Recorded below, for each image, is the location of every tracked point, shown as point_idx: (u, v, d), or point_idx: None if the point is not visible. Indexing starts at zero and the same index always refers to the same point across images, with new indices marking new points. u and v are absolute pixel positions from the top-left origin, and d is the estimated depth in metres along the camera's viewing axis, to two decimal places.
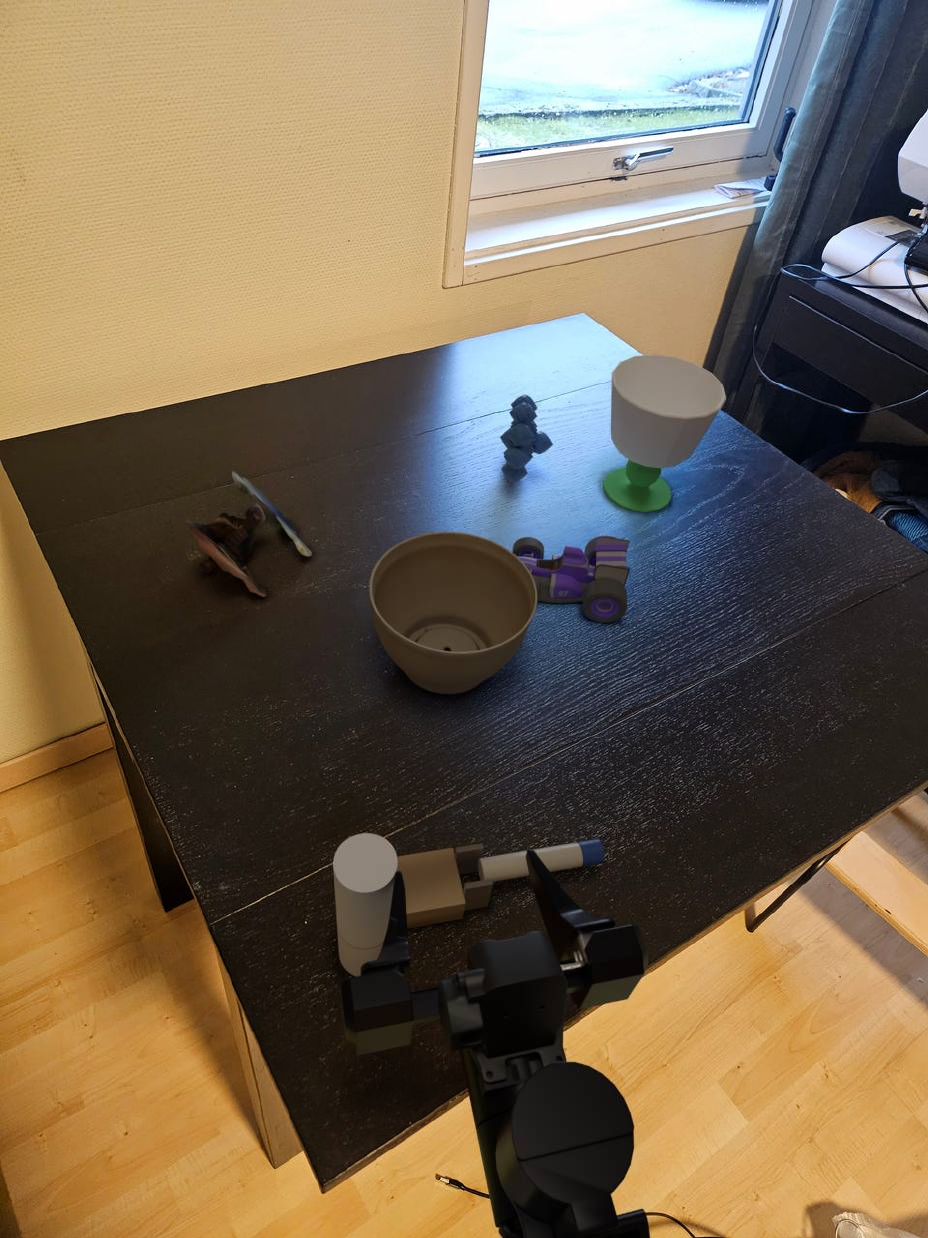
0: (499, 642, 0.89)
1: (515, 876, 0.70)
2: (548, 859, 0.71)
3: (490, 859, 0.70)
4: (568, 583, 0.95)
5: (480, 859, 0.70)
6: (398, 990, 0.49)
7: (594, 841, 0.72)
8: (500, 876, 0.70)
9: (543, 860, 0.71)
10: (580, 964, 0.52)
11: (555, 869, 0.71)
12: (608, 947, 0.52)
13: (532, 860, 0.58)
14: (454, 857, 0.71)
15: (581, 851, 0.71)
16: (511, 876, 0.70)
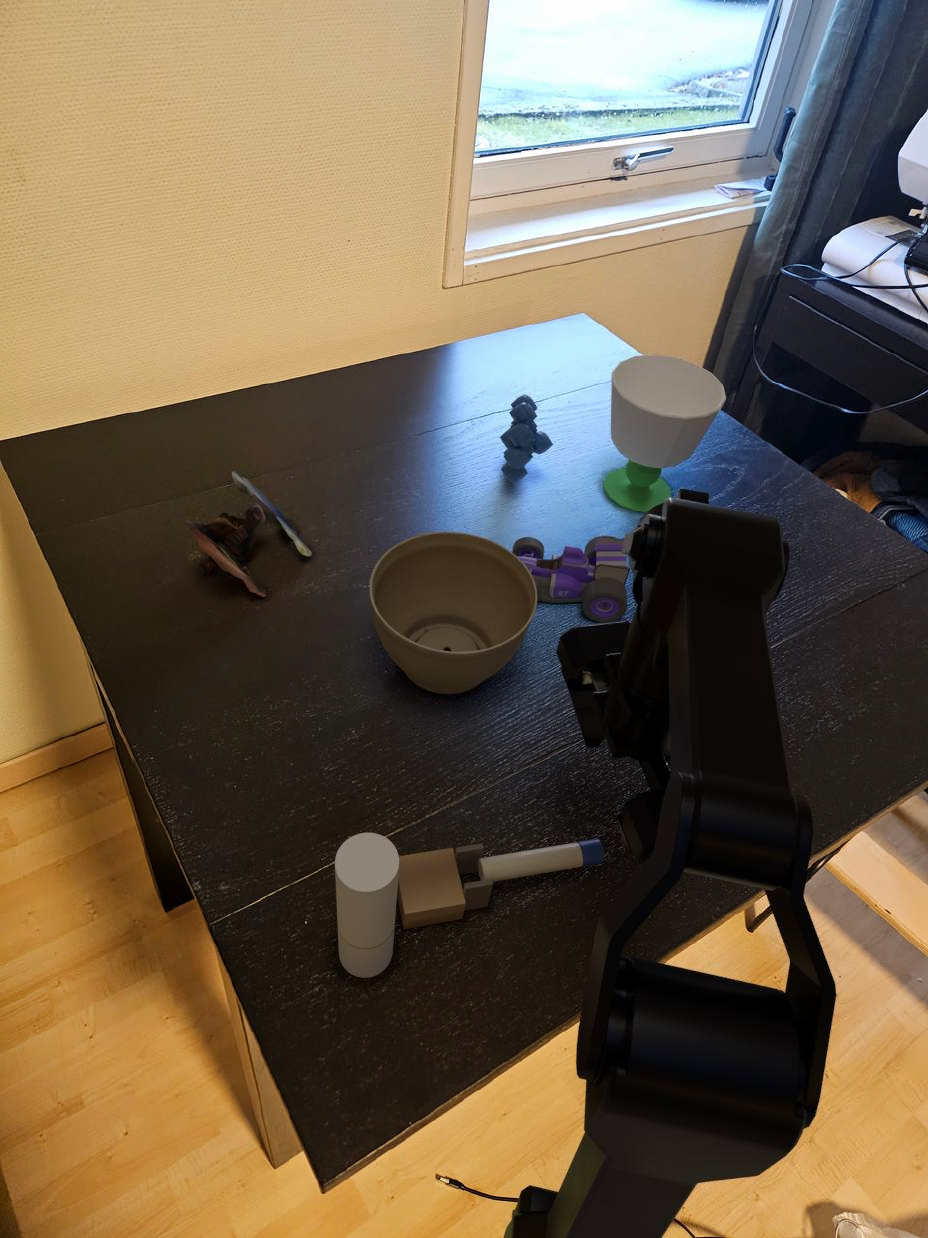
0: (499, 642, 0.89)
1: (515, 876, 0.70)
2: (548, 859, 0.71)
3: (490, 859, 0.70)
4: (568, 583, 0.95)
5: (480, 859, 0.70)
6: None
7: (594, 841, 0.72)
8: (500, 876, 0.70)
9: (543, 860, 0.71)
10: None
11: (555, 869, 0.71)
12: None
13: None
14: (454, 857, 0.71)
15: (581, 851, 0.71)
16: (511, 876, 0.70)
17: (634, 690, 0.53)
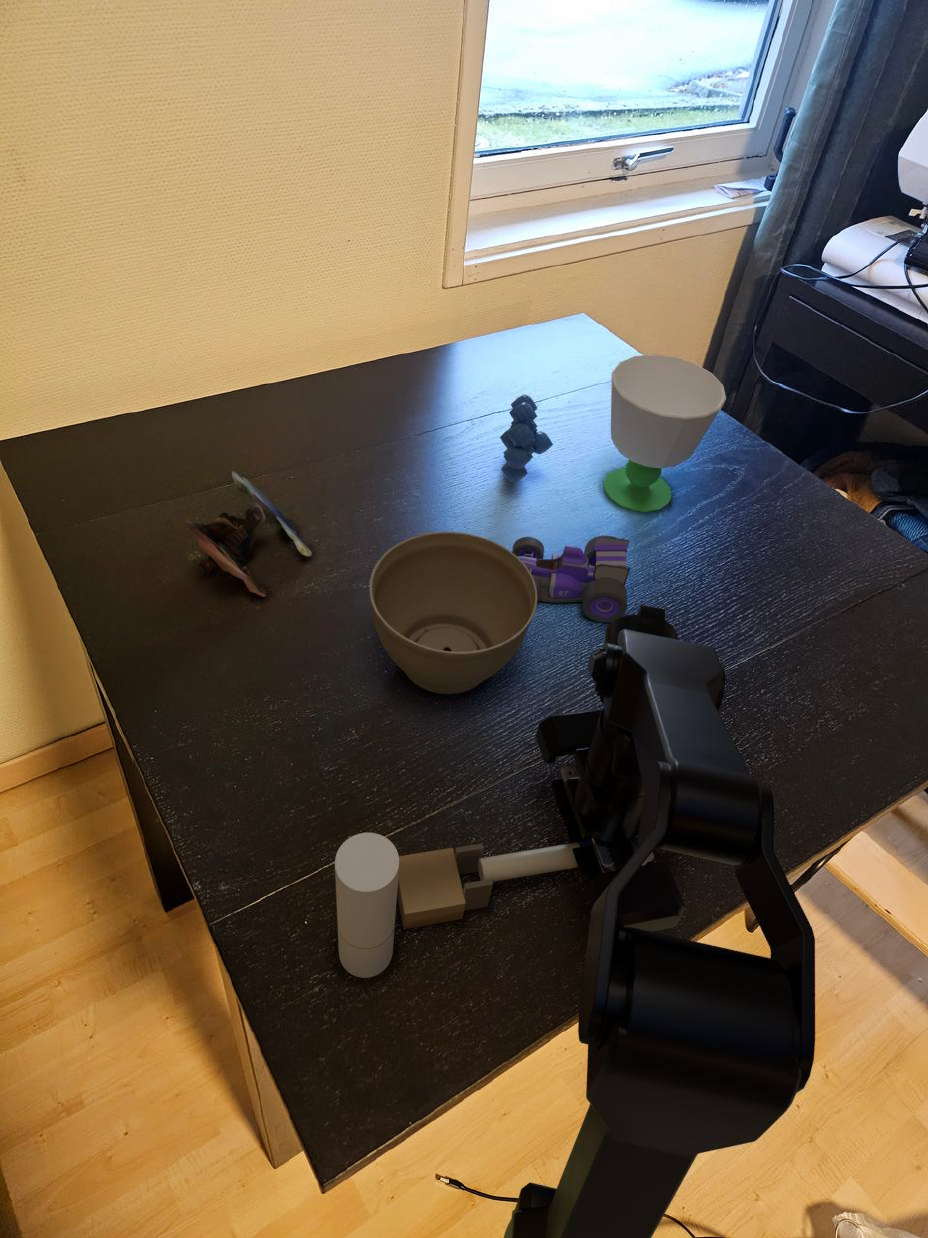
0: (499, 642, 0.89)
1: (515, 876, 0.70)
2: (548, 859, 0.71)
3: (490, 859, 0.70)
4: (568, 583, 0.95)
5: (480, 859, 0.70)
6: None
7: None
8: (500, 876, 0.70)
9: (543, 860, 0.71)
10: None
11: (555, 869, 0.71)
12: None
13: None
14: (454, 857, 0.71)
15: None
16: (511, 876, 0.70)
17: (599, 784, 0.61)
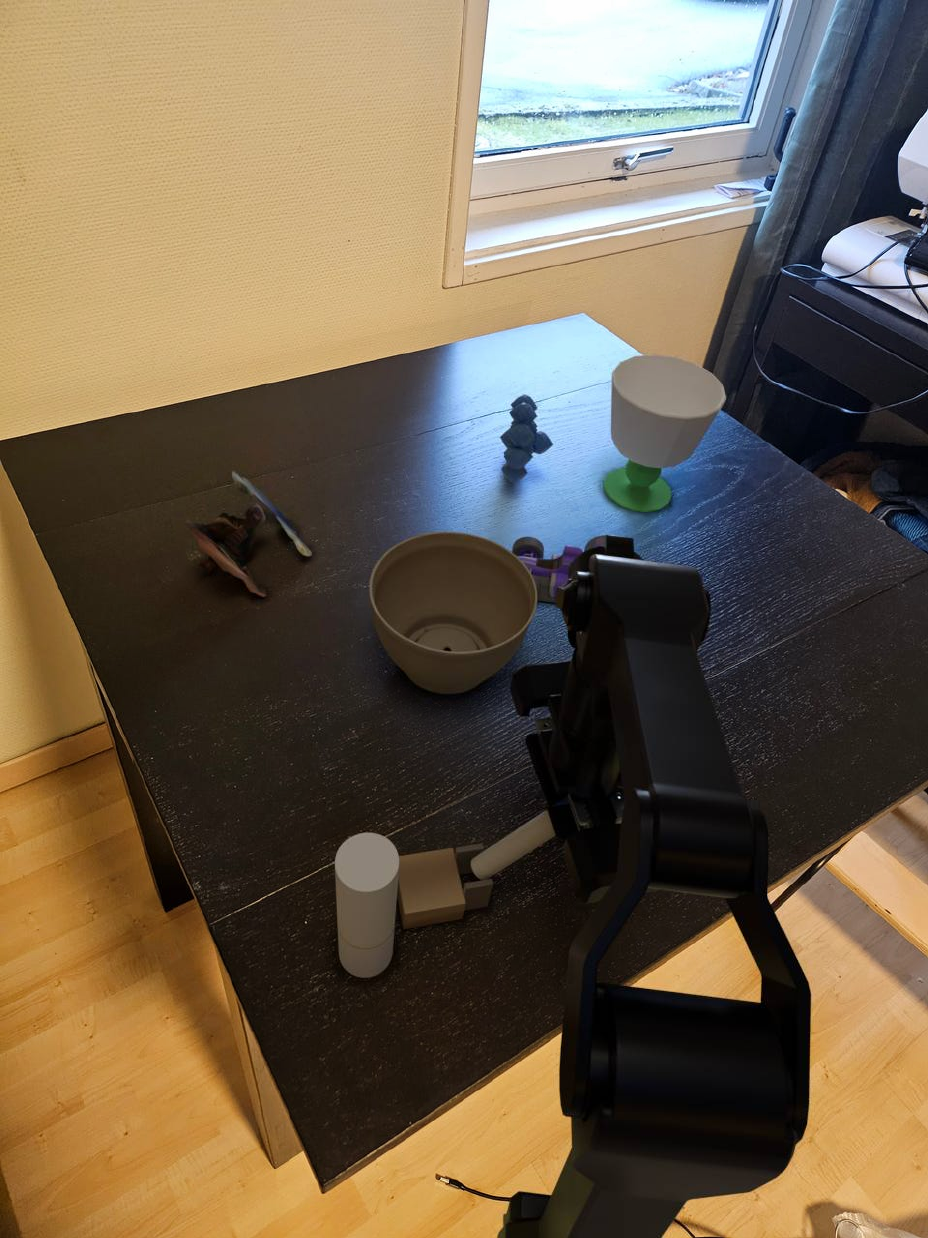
0: (499, 642, 0.89)
1: (505, 864, 0.68)
2: (523, 839, 0.67)
3: (478, 856, 0.70)
4: None
5: (472, 859, 0.70)
6: None
7: (561, 801, 0.66)
8: (491, 870, 0.69)
9: (519, 841, 0.67)
10: None
11: (537, 844, 0.67)
12: None
13: None
14: (454, 857, 0.71)
15: None
16: (501, 866, 0.69)
17: (572, 731, 0.55)
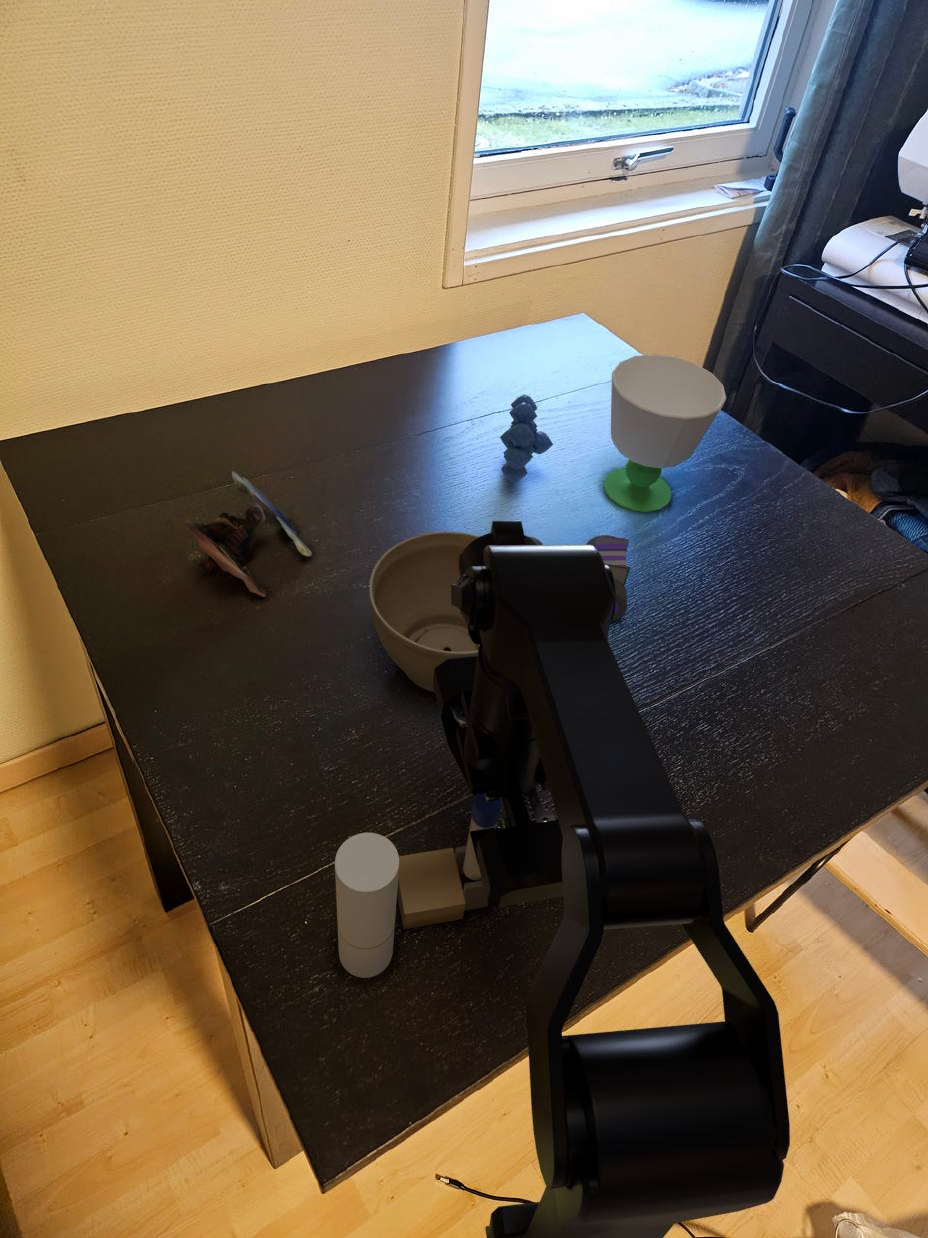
0: None
1: None
2: (471, 842, 0.65)
3: None
4: None
5: None
6: None
7: None
8: (475, 872, 0.68)
9: (470, 844, 0.66)
10: (541, 808, 0.57)
11: None
12: None
13: None
14: (454, 857, 0.71)
15: (473, 820, 0.63)
16: (478, 867, 0.68)
17: (482, 727, 0.53)
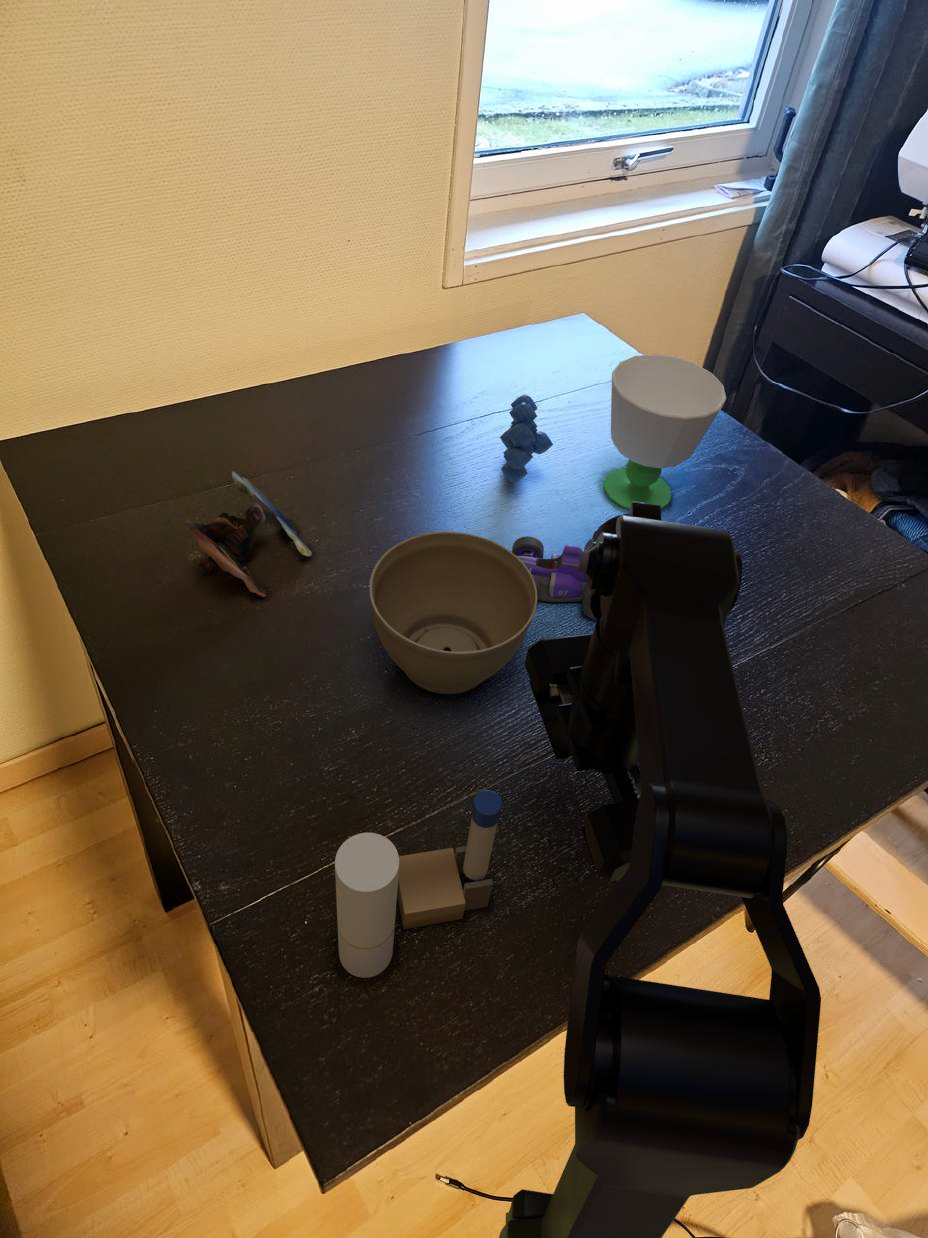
0: (499, 642, 0.89)
1: (480, 864, 0.67)
2: (471, 842, 0.65)
3: None
4: (568, 582, 0.95)
5: None
6: None
7: None
8: (475, 872, 0.68)
9: (470, 844, 0.66)
10: None
11: (485, 843, 0.65)
12: None
13: None
14: (454, 857, 0.71)
15: (473, 820, 0.63)
16: (478, 867, 0.68)
17: (595, 703, 0.53)
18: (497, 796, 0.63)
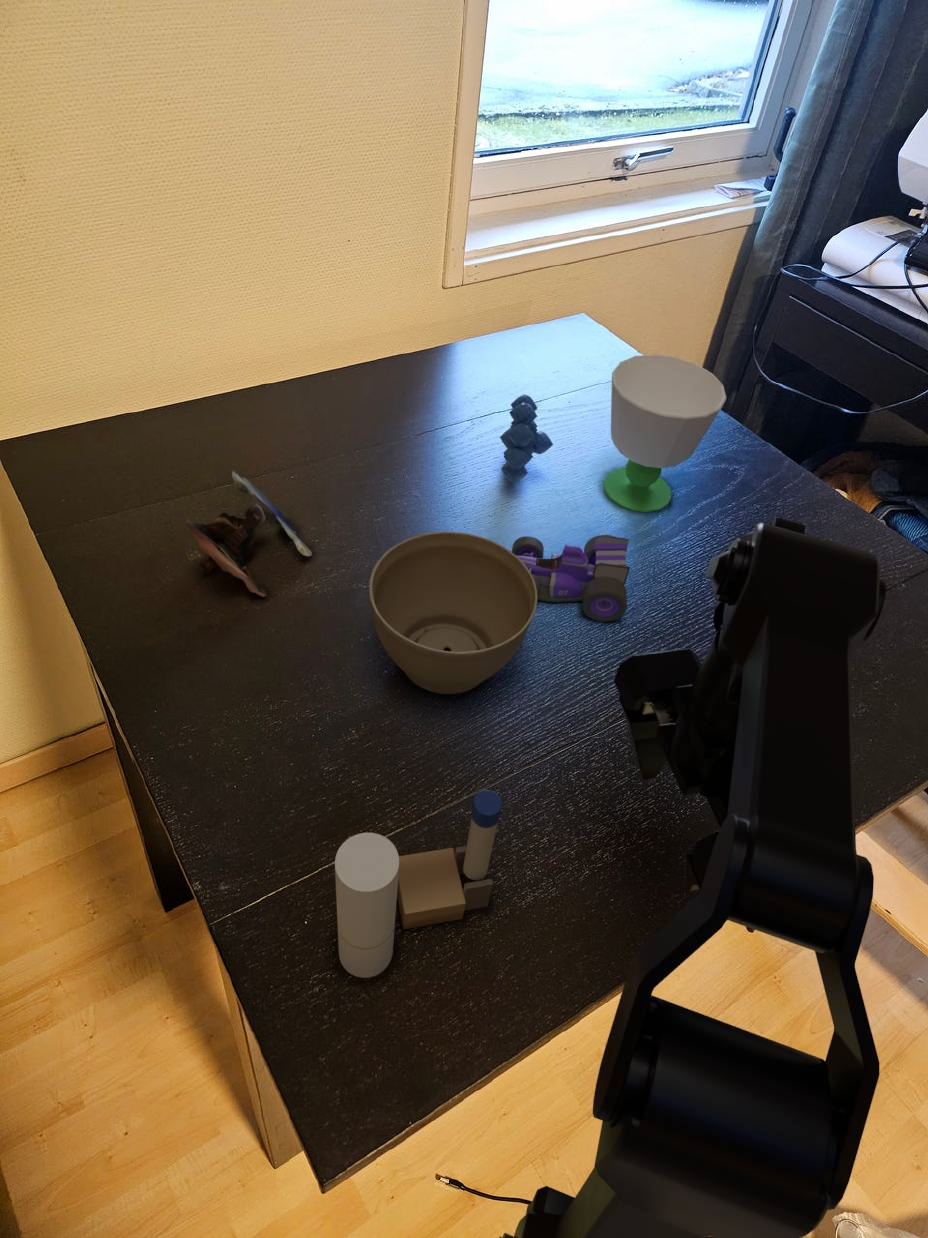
0: (499, 642, 0.89)
1: (480, 864, 0.67)
2: (471, 842, 0.65)
3: None
4: (568, 582, 0.95)
5: None
6: None
7: None
8: (475, 872, 0.68)
9: (470, 844, 0.66)
10: None
11: (485, 843, 0.65)
12: None
13: None
14: (454, 857, 0.71)
15: (473, 820, 0.63)
16: (478, 867, 0.68)
17: (709, 725, 0.51)
18: (497, 796, 0.63)
